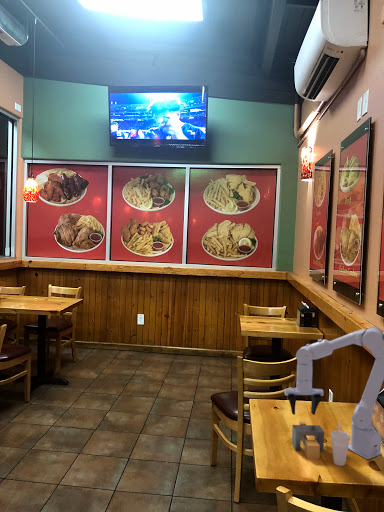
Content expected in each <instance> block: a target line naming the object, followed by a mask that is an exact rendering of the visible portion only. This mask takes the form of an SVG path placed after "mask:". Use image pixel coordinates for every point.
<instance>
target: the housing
mask: <svg viewBox="0 0 384 512" xmlns="http://www.w3.org/2000/svg"><path fill="white" fill-rule="evenodd" d="M291 433H292V434H291V445H292V447H293V449H294V451H299V452H300V451H301V442H302V440H301V435H302V436H306V437H307V436H309V437H312V436H313V437H314V438H313V440H317V442H318V443H319V445H320V452H324V446H325V443H324V442H325V431H324V429H323V428H322V427H321V425H319V424H318V425H317V424H316V425H315V424H313V425H311V424H308V425H307V424H306V425H299V424H292V431H291Z"/></svg>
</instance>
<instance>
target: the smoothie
mask: <svg viewBox="0 0 384 512" xmlns="http://www.w3.org/2000/svg"><path fill="white" fill-rule="evenodd" d="M329 436H330V438H331V447H332V450H331V451H332V459H333V463H334V464H335V466H336V465H337V466H345V465H346V462H347V457H348V455H347V454H348V450H349V449H348V445H349V443H350V442H351V434H349V433H347V432H345V431H344V430H341V421H338V429H337V430H336V429H335V430H331V431H330V435H329Z"/></svg>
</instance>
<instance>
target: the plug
mask: <svg viewBox="0 0 384 512" xmlns="http://www.w3.org/2000/svg"><path fill="white" fill-rule="evenodd" d="M298 425H307V423H306V422H305V420H303V421H302V420H299V422H298ZM301 442H302V444H303V446H304V453H305V456H306V458H307V459H318V460H319V459H320V455H321V453H320V452H321V451H320V445H319V443H318V442H317V440H314V439H309V438H308V437H307V436H302V435H301Z"/></svg>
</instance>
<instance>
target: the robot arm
mask: <svg viewBox="0 0 384 512" xmlns="http://www.w3.org/2000/svg"><path fill="white" fill-rule="evenodd" d="M351 345H357V346H360V347H362V346H364V347H365V348H366V349H368V351H370V352H371V354H372V355H373V357H374V358H375V360H374V363H373V366H372V369H371V371H370V374H369V377H368V380H367V382H366V385H365V388H364V391H363V393H362V396H361V399H360V401H359V402H358V404H356V405H355V406H354V407H355V408H354V412H353V414H352V416H351V420H352V421H351V429H350V430H351V432H350V444H349V445H348V450H350V451H352V453H355V454H357V455H358V456H361V457H362V458H364V459H366V460H369V459H372V458H375V457H377V456H378V457H379V456H381V455H382V451H381V448H382V444H381V443H382V435H381V433H380V432H378V431H377V430H376V429H375V427H374V424H373V422H372V420H373V416H374V407H375V405H376V401H377V399H378V396H379V393H380V390H381V388H382V385H383V382H384V333H383V331H382V330H381V329H380V328H378V327H377V326H369V327H367V328H362V329H361V328H360V329H358V330H355V331H352V332H350V333H348V334H345V335H342V336H339V337H337V338H335V339H332V340H328V339H325V338H324V339H322V338H320V339H317V341H316V342H313V343H311V344H310V343H307V344H306V345H305V346H302V347H300V348H299V349H298V350H297V351H296V353H295V358H296V360H297V364H296V382H295V383H296V387H291V388H290V387H289V388H284V391H283V392H284V395H285V396H286V397H287V399H288V401H289V404H290V405H289V406H290V409H291V410H290V411H291V413H292V415H296V404H297V403H296V402H297V398H296V396H311V397H310V398H311V399H310V400H311V408H310V411H311V414H312V415H313V416H315V415H316V411H317V408H318V406H319V405H320V403H321V401H322V398H323V396H324V390H323V389H322V388H313V360H319V359H322V358H325V357H328V356H330V355H332V354H333V352H334V350H337V349H340V348H343V347H347V346H351Z"/></svg>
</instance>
